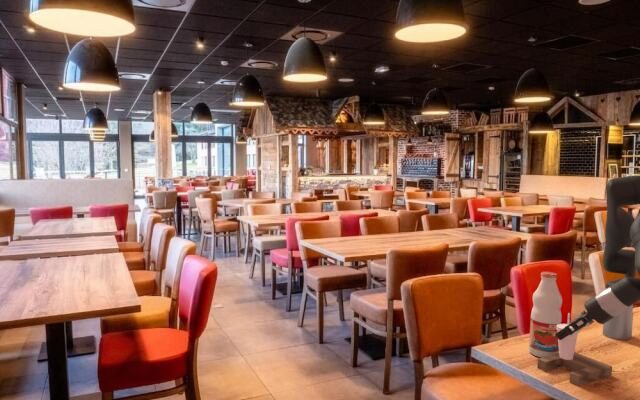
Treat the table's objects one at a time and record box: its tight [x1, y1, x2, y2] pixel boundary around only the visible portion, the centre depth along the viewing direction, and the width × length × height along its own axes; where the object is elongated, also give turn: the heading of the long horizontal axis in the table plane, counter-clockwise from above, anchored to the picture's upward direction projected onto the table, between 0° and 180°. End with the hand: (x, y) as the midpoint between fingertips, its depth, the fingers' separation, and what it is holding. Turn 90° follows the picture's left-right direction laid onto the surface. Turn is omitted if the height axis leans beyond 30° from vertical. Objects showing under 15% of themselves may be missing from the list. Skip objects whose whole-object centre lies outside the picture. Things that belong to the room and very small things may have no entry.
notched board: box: [536, 351, 613, 387], centre depth 153 cm, size 16×14×3 cm
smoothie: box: [556, 312, 581, 360], centre depth 150 cm, size 6×6×14 cm
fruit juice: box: [528, 271, 563, 358], centre depth 166 cm, size 9×9×28 cm
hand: (561, 334), depth 151 cm, fingers closed on smoothie, 6 cm apart
